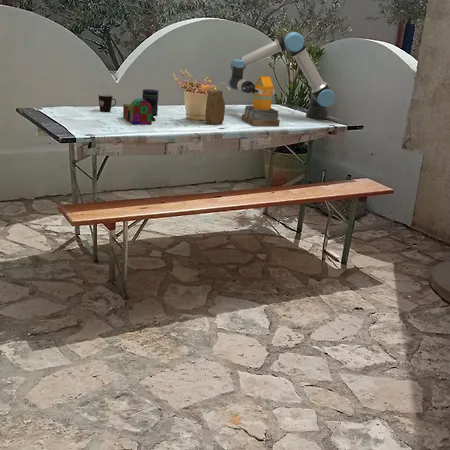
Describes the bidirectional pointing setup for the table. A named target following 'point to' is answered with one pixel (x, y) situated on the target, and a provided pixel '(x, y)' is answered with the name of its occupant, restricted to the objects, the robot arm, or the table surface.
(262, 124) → the grey square tray
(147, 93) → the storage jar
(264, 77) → the orange juice
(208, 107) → the block
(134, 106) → the multicoloured round-topped piece
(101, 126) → the table surface
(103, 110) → the coffee mug
